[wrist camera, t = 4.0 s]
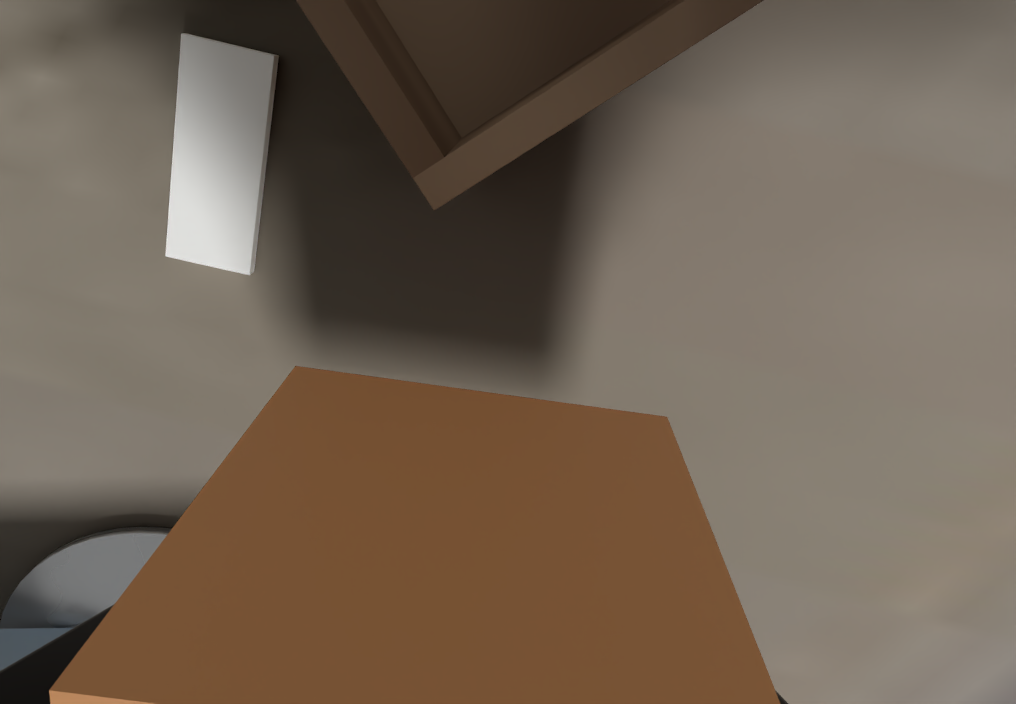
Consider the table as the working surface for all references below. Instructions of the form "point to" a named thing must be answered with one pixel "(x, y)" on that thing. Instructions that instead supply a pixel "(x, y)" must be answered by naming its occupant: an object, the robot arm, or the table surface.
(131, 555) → the plate
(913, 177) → the table surface
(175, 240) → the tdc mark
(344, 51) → the tray
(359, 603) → the block
